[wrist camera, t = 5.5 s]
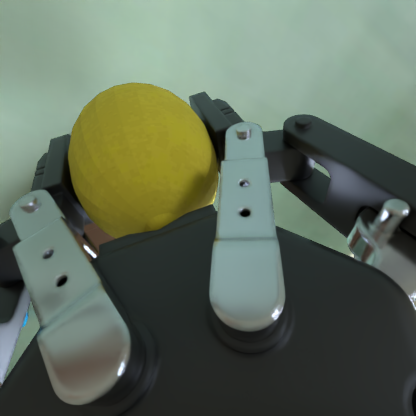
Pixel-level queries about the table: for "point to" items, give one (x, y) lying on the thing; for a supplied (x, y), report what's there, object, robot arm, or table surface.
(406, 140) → the table surface
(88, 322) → the robot arm
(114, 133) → the lemon
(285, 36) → the table surface
